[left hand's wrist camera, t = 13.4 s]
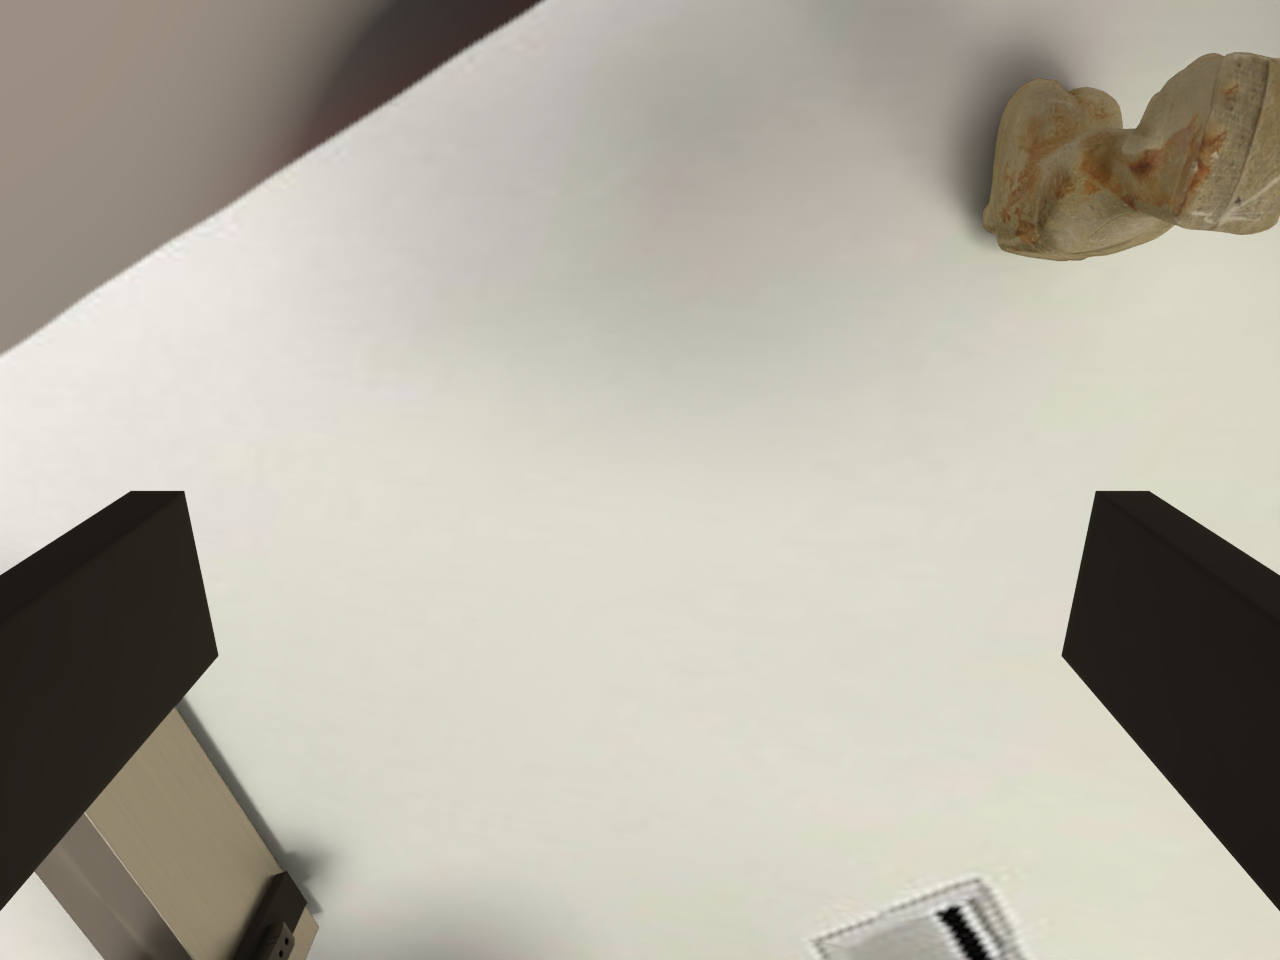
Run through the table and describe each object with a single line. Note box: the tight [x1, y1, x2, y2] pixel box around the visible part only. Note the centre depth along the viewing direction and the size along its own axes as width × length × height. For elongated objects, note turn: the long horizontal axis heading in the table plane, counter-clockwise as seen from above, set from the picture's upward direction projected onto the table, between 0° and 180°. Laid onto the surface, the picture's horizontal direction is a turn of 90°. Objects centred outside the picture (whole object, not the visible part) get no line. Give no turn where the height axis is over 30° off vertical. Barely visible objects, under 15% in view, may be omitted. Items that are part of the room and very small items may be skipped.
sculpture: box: [982, 52, 1280, 261], centre depth 31 cm, size 6×7×15 cm
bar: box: [35, 707, 319, 960], centre depth 46 cm, size 25×4×8 cm, turn 19°
